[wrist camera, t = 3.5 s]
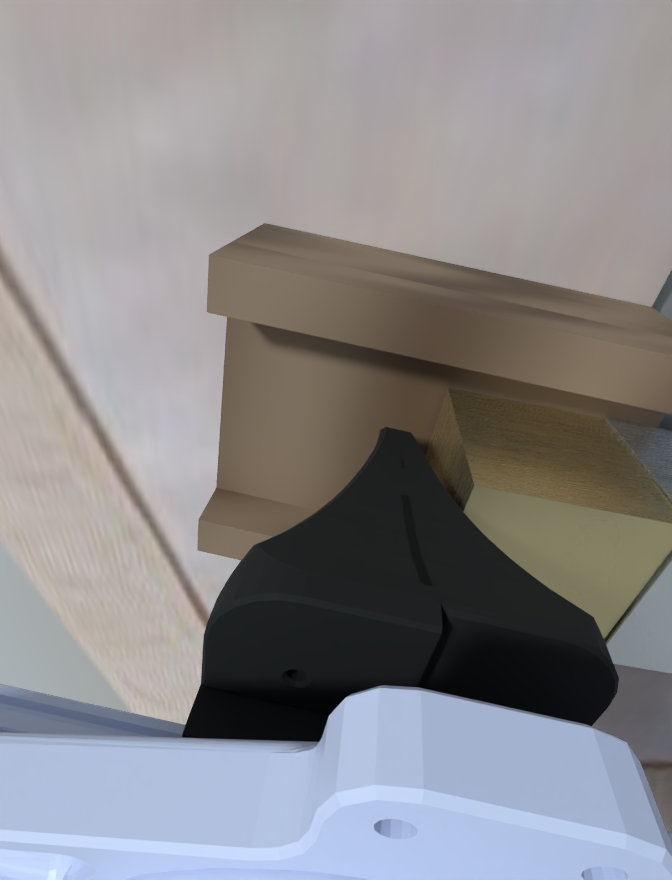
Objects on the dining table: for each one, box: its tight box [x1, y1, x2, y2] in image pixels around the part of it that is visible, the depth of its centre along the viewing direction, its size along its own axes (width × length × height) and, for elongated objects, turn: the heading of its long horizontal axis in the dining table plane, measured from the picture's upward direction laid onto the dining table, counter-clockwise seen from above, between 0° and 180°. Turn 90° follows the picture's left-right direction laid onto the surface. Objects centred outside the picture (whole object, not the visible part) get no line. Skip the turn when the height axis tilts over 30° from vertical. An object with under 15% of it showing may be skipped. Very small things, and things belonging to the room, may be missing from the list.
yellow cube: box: [425, 388, 672, 639], centre depth 12 cm, size 4×4×4 cm
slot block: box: [198, 223, 672, 560], centre depth 14 cm, size 11×8×4 cm
